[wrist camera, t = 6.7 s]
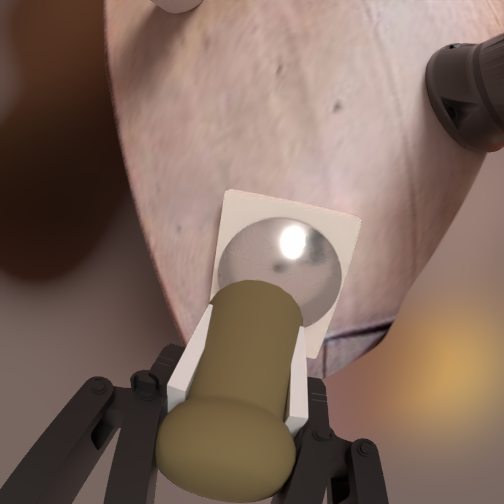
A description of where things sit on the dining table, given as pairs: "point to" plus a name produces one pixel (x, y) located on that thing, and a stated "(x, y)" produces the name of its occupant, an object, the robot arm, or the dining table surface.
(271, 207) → the scale base
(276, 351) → the cork
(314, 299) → the pan
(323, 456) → the robot arm
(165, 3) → the coffee cup
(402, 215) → the dining table surface
